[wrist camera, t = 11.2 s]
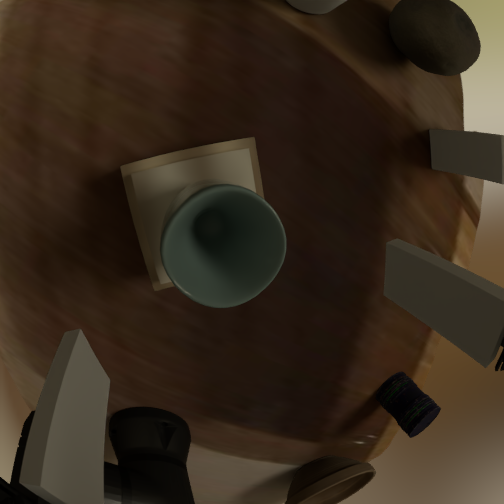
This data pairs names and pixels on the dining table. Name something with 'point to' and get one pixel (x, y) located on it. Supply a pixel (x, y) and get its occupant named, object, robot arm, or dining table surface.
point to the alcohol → (315, 5)
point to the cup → (221, 243)
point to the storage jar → (407, 404)
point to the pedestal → (181, 188)
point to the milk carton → (468, 154)
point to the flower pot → (329, 480)
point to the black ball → (435, 35)
